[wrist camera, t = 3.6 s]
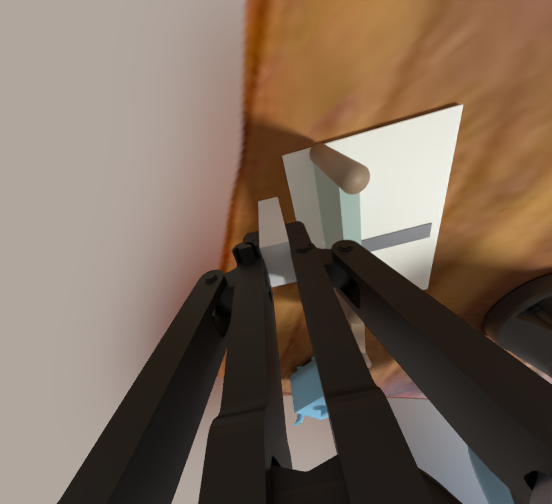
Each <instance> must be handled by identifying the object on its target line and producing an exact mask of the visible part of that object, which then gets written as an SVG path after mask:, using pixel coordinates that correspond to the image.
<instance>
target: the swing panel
mask: <svg viewBox="0 0 552 504" xmlns="http://www.w3.org/2000/svg"><path fill="white" fill-rule="evenodd" d="M309 156H310V159H311V161H312V162H313V167H314V174H315V180H316V187H317V194H318V200H319V207H320V214H321V221H322V227H323V234H324V241H325V246H326V248H327V249H331V248H332V245H333V244H334V243H336V242H337V241H341V240H353V241H355V242H357V243H359V244H360V245H361V246H362V244H361V216H360V192H361V191H363V190H364V189H365V188H366V186H367V185H368V183H369V180H370V172H369V170H368V168H367V167H366V166H364V165H362V164H361V163H359V162H357V161H355V160H353V159H351V158H349V157H347V156H345V155H344V154H342V153H340V152H338V151H336V150H334V149H332V148H330V147H329V146H327V145H325V144H323V143H317V144H315V145H314V146H313V147H312V148H311V150H310V153H309Z"/></svg>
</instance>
